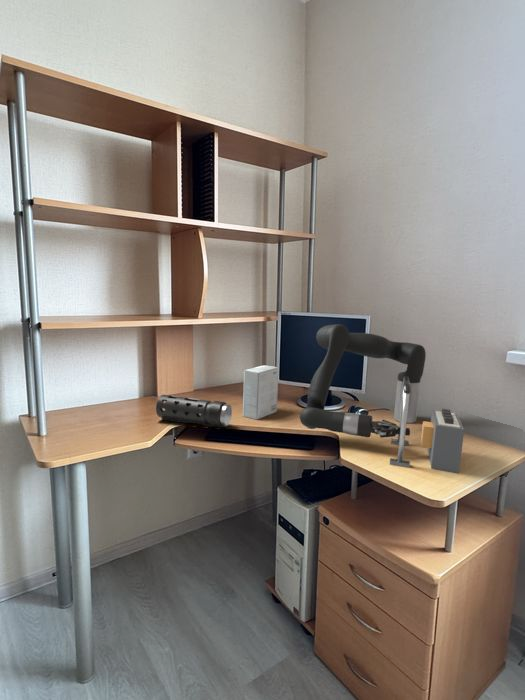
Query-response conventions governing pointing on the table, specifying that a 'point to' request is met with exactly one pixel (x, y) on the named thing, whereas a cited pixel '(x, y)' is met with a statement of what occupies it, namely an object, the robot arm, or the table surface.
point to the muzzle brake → (194, 411)
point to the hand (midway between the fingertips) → (409, 432)
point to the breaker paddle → (427, 434)
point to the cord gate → (402, 426)
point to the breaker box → (446, 441)
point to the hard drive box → (260, 391)
